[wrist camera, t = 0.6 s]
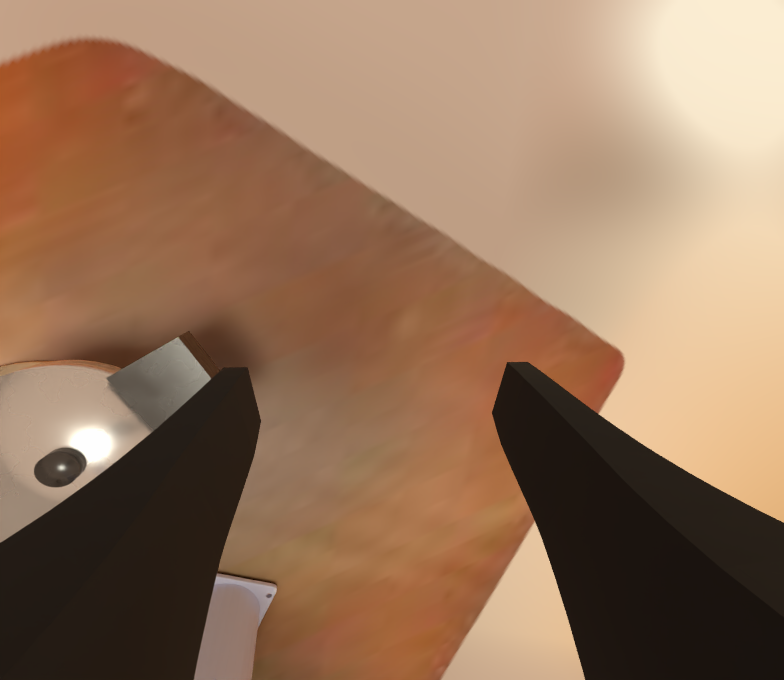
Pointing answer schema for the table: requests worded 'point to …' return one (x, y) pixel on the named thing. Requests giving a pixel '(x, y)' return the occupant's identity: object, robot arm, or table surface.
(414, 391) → the table surface
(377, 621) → the table surface
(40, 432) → the cooker lid
